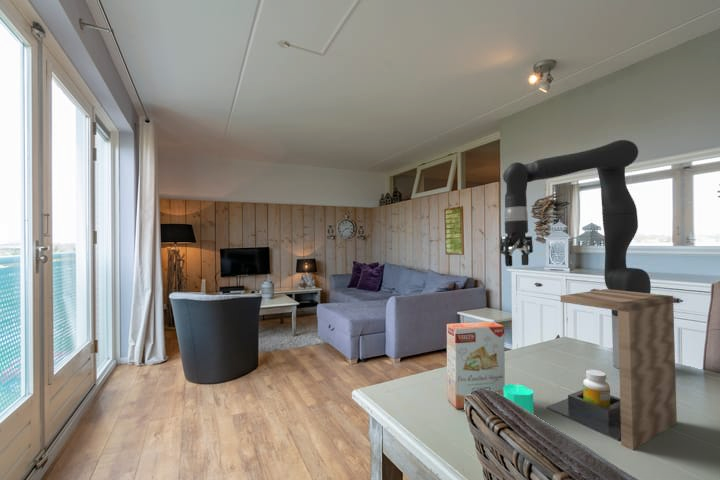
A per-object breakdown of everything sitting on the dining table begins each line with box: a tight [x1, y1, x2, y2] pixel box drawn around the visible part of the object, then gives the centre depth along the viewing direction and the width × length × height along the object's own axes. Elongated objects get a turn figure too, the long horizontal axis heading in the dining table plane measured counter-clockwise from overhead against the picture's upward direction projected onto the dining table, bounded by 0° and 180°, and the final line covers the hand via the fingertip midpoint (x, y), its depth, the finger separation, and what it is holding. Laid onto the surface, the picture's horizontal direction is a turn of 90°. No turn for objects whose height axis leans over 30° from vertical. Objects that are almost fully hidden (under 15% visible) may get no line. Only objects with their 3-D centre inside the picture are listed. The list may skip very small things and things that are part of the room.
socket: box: [545, 389, 621, 442], centre depth 81 cm, size 16×16×4 cm
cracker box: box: [446, 321, 506, 410], centre depth 88 cm, size 14×6×21 cm, turn 99°
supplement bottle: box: [582, 369, 611, 407], centre depth 81 cm, size 5×5×10 cm
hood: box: [559, 288, 678, 451], centre depth 78 cm, size 20×14×30 cm
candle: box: [504, 383, 535, 415], centre depth 72 cm, size 6×6×12 cm
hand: (517, 265), depth 118 cm, fingers open, 8 cm apart
